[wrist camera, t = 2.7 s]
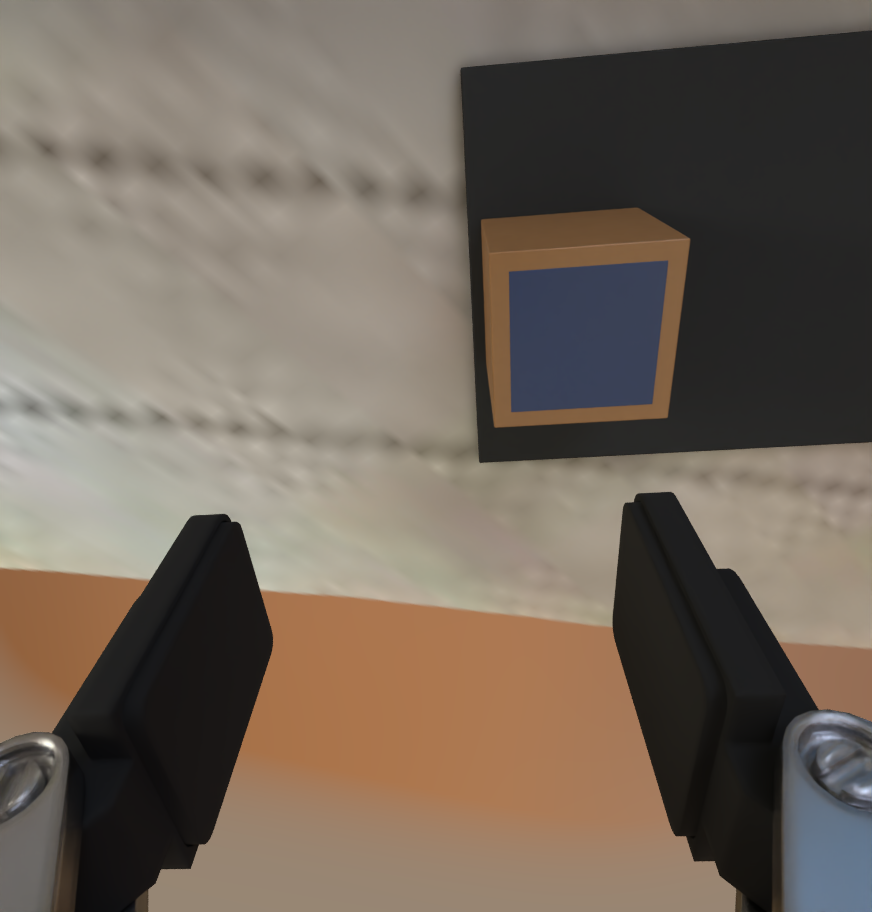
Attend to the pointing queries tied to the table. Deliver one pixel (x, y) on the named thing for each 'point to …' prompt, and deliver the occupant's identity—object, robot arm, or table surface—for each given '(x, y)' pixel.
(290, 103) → the table surface
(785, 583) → the table surface
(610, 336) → the box
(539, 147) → the mat
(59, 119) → the table surface
